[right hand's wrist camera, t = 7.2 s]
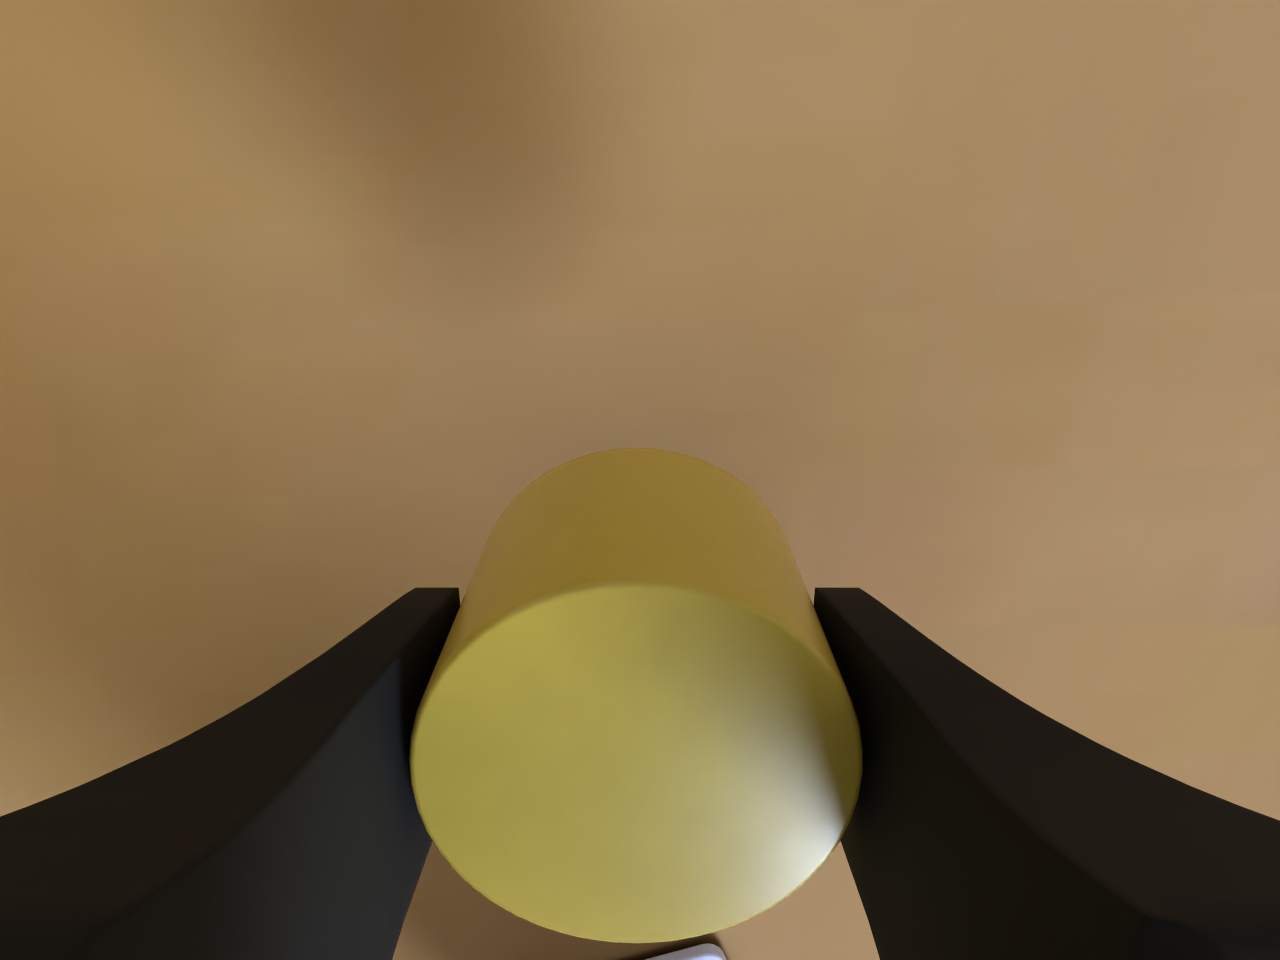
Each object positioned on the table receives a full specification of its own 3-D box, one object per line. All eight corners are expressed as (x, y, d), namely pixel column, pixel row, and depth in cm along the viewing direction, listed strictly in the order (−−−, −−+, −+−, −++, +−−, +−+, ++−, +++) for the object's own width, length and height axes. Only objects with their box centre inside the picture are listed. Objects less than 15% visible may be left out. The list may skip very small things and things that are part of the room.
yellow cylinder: (838, 486, 12) (933, 637, 8) (745, 749, 14) (787, 976, 10) (507, 412, 11) (441, 533, 8) (457, 693, 13) (381, 908, 9)
